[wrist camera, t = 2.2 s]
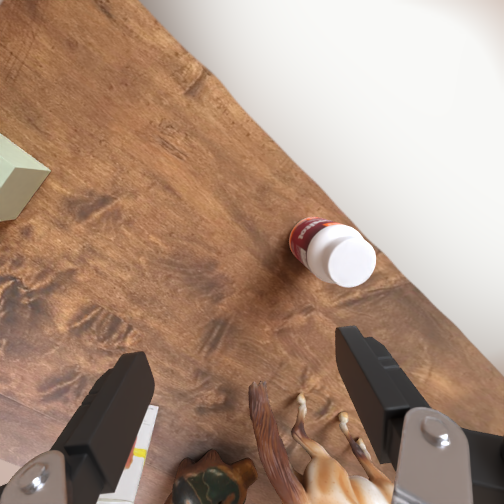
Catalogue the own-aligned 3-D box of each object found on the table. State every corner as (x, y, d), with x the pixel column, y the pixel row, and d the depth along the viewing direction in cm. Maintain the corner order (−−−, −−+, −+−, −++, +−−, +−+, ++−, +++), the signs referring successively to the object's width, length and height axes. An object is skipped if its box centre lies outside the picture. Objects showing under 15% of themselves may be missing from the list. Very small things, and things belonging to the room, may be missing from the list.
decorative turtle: (150, 465, 39) (136, 529, 31) (239, 421, 40) (246, 472, 32) (177, 506, 41) (170, 576, 33) (260, 463, 42) (272, 520, 35)
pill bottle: (324, 208, 32) (376, 218, 21) (338, 250, 34) (392, 278, 23) (280, 227, 32) (311, 247, 21) (296, 268, 34) (332, 305, 23)
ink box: (146, 450, 38) (116, 561, 27) (113, 446, 37) (66, 560, 26) (160, 405, 36) (134, 504, 25) (126, 399, 35) (82, 499, 24)
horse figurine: (393, 425, 44) (540, 622, 24) (366, 456, 45) (484, 670, 25) (248, 351, 36) (285, 550, 16) (220, 391, 37) (221, 623, 17)
